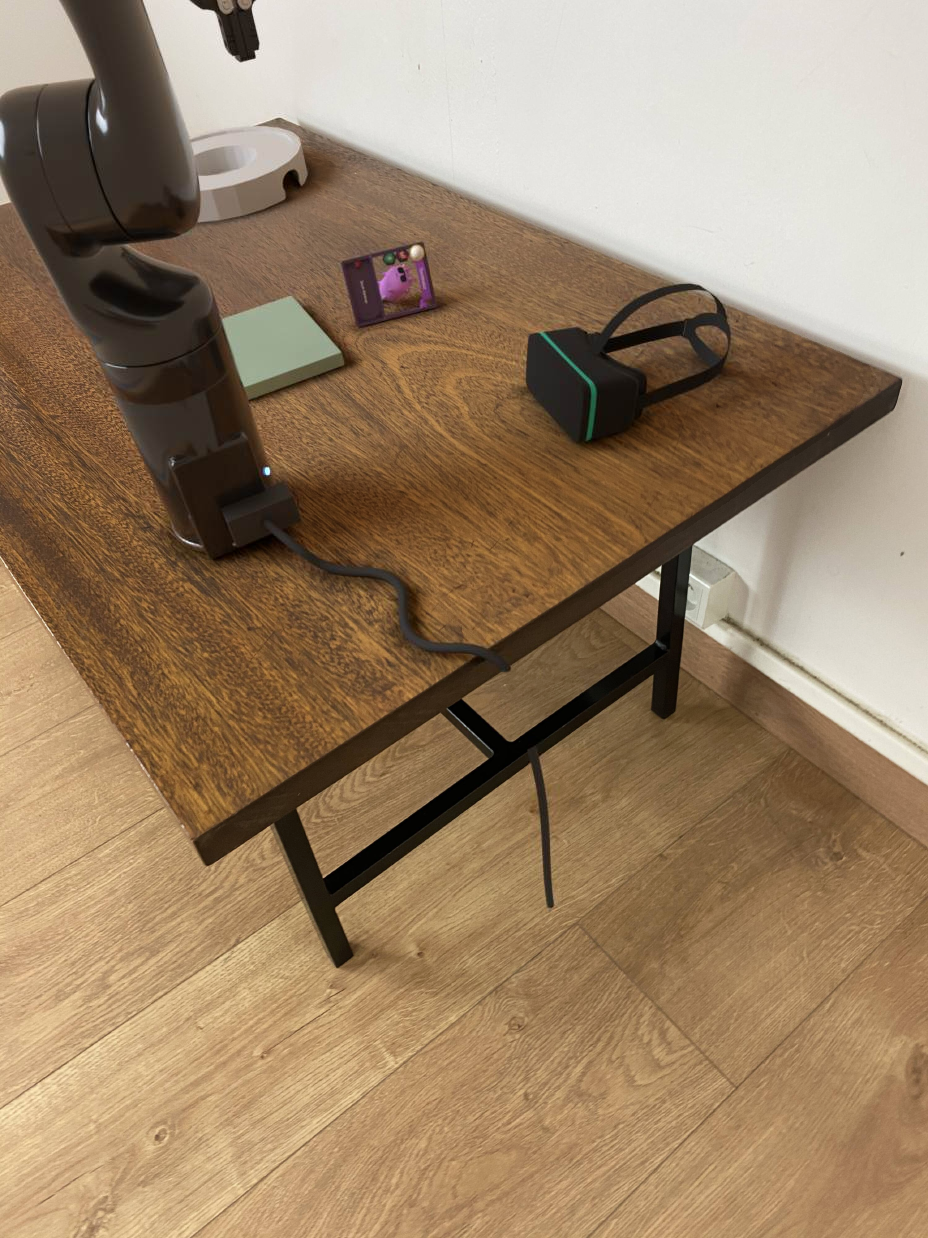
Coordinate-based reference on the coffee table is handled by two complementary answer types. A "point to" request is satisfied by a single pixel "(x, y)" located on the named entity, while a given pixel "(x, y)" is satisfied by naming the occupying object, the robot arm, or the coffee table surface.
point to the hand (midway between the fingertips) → (245, 58)
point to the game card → (386, 283)
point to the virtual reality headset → (611, 369)
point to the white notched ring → (244, 169)
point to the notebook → (279, 346)
